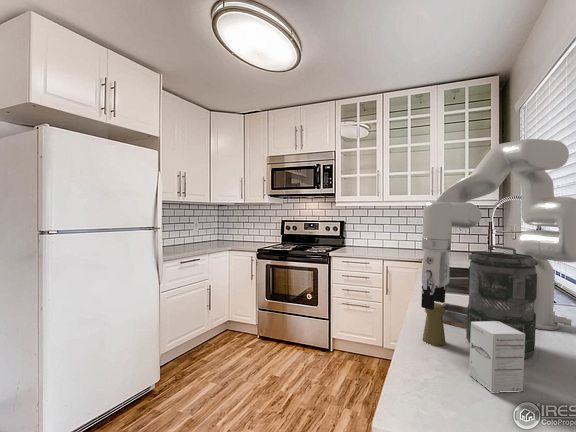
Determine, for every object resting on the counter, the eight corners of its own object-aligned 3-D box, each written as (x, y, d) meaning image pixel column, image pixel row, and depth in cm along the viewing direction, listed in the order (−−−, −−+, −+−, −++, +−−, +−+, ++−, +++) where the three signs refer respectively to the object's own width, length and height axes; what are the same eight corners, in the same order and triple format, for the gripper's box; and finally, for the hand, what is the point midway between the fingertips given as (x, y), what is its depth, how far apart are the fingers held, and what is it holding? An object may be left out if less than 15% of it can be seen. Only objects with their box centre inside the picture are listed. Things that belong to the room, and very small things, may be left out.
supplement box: (467, 375, 72) (469, 320, 72) (498, 374, 73) (499, 320, 73) (490, 394, 65) (493, 333, 65) (524, 393, 66) (526, 333, 65)
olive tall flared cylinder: (440, 337, 94) (441, 300, 93) (449, 346, 88) (450, 307, 87) (419, 336, 94) (420, 300, 94) (426, 345, 88) (427, 306, 88)
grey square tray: (475, 321, 108) (476, 309, 108) (468, 329, 101) (469, 316, 101) (444, 314, 115) (444, 302, 115) (435, 321, 108) (436, 308, 108)
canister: (453, 339, 93) (456, 243, 92) (491, 332, 98) (494, 242, 98) (507, 364, 78) (511, 251, 77) (548, 355, 84) (552, 249, 83)
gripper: (440, 248, 81) (437, 314, 81) (458, 244, 94) (456, 302, 94) (411, 245, 86) (408, 308, 87) (432, 242, 99) (429, 296, 99)
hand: (433, 305), depth 90 cm, fingers open, 9 cm apart
